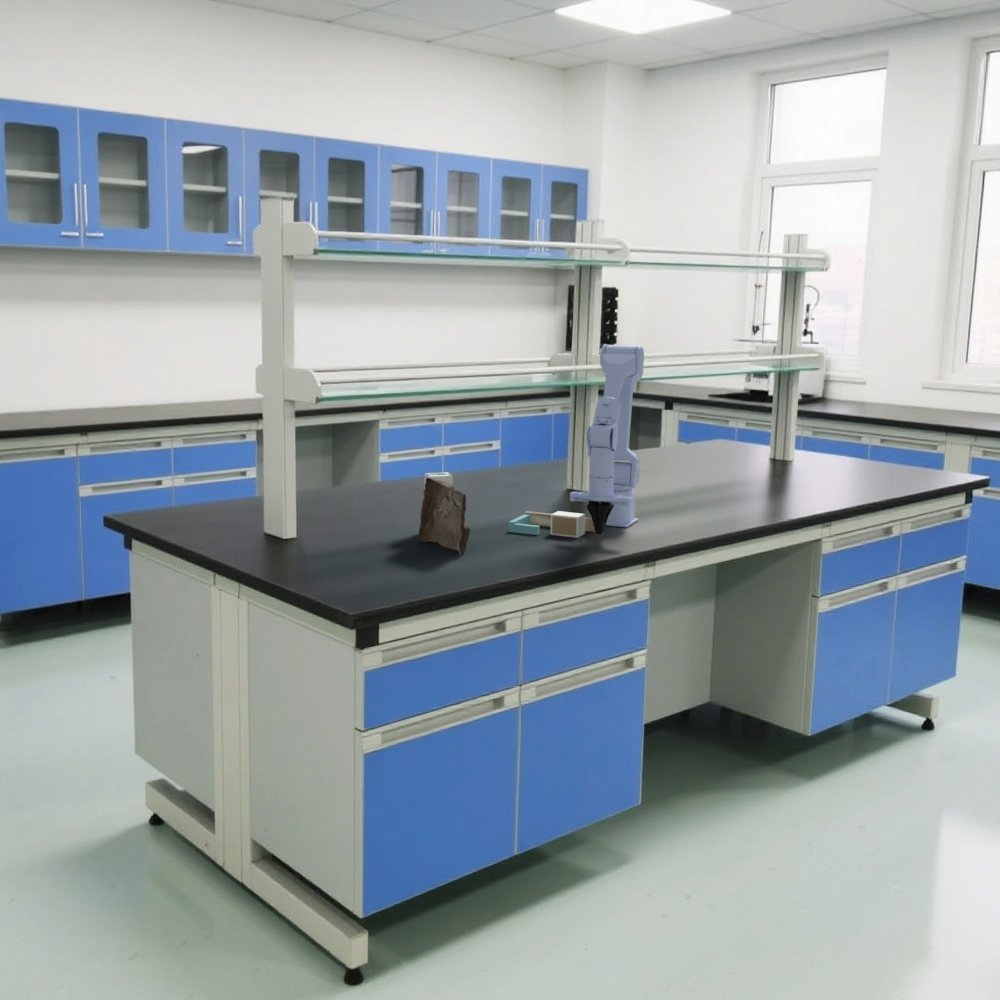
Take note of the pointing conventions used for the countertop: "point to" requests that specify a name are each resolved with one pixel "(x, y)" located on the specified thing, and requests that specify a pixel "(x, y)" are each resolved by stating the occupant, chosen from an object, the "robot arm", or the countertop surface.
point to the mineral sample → (444, 516)
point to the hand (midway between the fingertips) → (599, 533)
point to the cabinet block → (567, 524)
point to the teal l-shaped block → (523, 526)
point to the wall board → (545, 520)
